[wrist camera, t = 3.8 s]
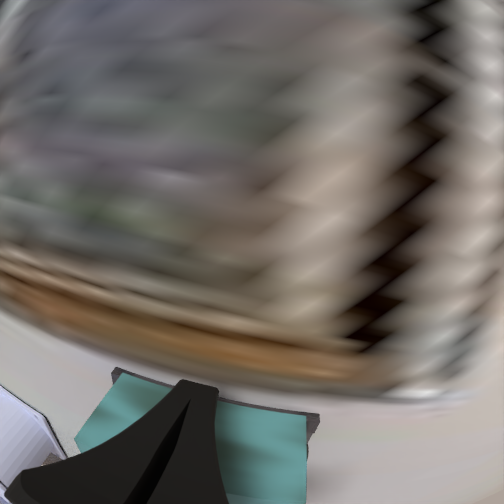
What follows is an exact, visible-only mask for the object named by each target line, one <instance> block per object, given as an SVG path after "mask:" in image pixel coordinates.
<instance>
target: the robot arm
mask: <svg viewBox="0 0 504 504" xmlns="http://www.w3.org/2000/svg"><path fill="white" fill-rule="evenodd" d="M218 393H219V390H218V389H217V388H216V387H212V386H208V385H203V384H199V383H195V382H192V381H188V380H184V379H182V380H180V381H179V382H178V383H177V384H176V385H175V387H174V388H173V389H172V390H171V391H170V392H169V393H168V394H167V395H166V396H165V397H164V398H163V399H162V400H161V401H159V402H158V403H157V404H156V405H155V406H154V407H153V408H152V409H150V410H149V411H148V412H147V413H146V414H145V415H143V416H142V417H141V418H139V419H138V420H137V421H135V422H134V423H133V424H131V425H130V426H129V427H127V428H126V429H125V430H123V431H122V432H120V433H119V434H117V435H115V436H114V437H112V438H110V439H109V440H107V441H105V442H103V443H102V444H100V445H98V446H96V447H94V448H92V449H90V450H88V451H85V452H83V453H81V454H78V455H76V456H73V457H70V458H67V459H66V456H65V455H64V453H63V451H62V449H61V448H60V446H59V444H58V442H57V440H56V438H55V437H54V435H53V433H52V431H51V429H50V427H49V425H48V423H47V421H46V419H45V417H44V416H43V415H41V414H40V413H38V412H37V411H35V410H34V409H32V408H31V407H29V406H28V405H26V404H25V403H23V402H22V401H20V400H19V399H18V398H16V397H15V396H14V395H12V394H11V393H9V392H8V391H7V390H5V389H4V388H3V387H2V386H0V504H229V502H228V499H227V496H226V492H225V489H224V485H223V481H222V477H221V473H220V468H219V462H218V456H217V449H216V440H215V416H216V408H217V401H218ZM50 452H51V453H52V454H54V455H56V456H57V457H59V458H61V459H62V461H59V462H56V463H52V464H48V465H44V466H41V465H42V463H43V462H44V461H45V459H46V458H47V457H48V455H49V454H50Z"/></svg>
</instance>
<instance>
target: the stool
mask: <svg viewBox="0 0 504 504" xmlns="http://www.w3.org/2000/svg"><path fill="white" fill-rule="evenodd" d="M171 390H172V389H171V388H168V387H164V386H161V385H158V384H155V383H151V382H148V381H145V380H142V379H139V378H136V377H134V376H131V375H128V374H125V373H122V374H121V375H120V377H119V378H118V379H117V381H116V382H115V383H114V385H113V386H112V387H111V389H110V390H109V391H108V393H107V394H106V395H105V397H104V398H103V400H102V401H101V402H100V404H99V405H98V406H97V408H96V409H95V410H94V412H93V413H92V415H91V416H90V417H89V419H88V420H87V421H86V423H85V424H84V426H83V427H82V428H81V430H80V431H79V433H78V434H77V435H76V437H75V438H74V440H75V442H76V444H77V446H78V448H79V450H80V452H81V453H83V452H85V451H88V450H90V449H92V448H94V447H96V446H98V445H100V444H102V443H103V442H105V441H107V440H109V439H110V438H112V437H114V436H115V435H117V434H119V433H120V432H122V431H123V430H125V429H126V428H127V427H129V426H130V425H131V424H133V423H134V422H135V421H137V420H138V419H139V418H141V417H142V416H143V415H145V414H146V413H147V412H148V411H149V410H150V409H152V408H153V407H154V406H155V405H156V404H157V403H158V402H159V401H161V400H162V399H163V398H164V397H165V396H166V395H167V394H168V393H169V392H170V391H171ZM215 440H216V449H217V456H218V462H219V468H220V473H221V477H222V481H223V485H224V489H225V492H226V496H227V499H228V502H229V504H305V503H306V472H307V459H308V444H307V443H306V416H303V415H295V414H287V413H280V412H274V411H267V410H261V409H256V408H250V407H245V406H240V405H235V404H230V403H226V402H221V401H217V408H216V416H215Z"/></svg>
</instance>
